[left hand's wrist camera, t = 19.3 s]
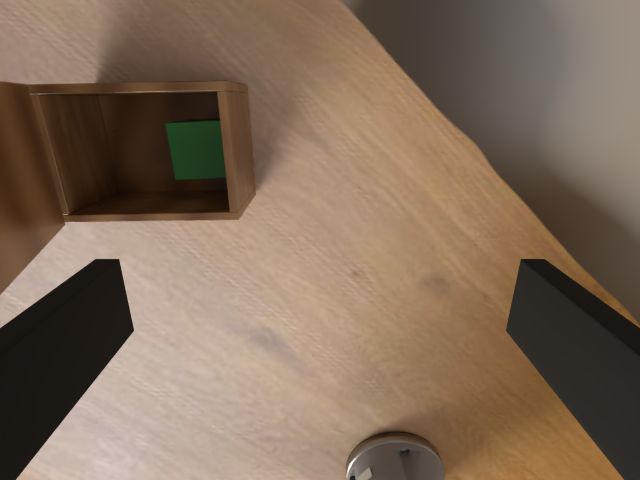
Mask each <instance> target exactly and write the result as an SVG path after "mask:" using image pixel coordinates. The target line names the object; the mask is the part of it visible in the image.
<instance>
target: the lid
mask: <svg viewBox="0 0 640 480" xmlns="http://www.w3.org/2000/svg"><path fill="white" fill-rule="evenodd" d="M64 225H65V220H64V217H63V213H62V209H61V206H60V202H59V198H58V195H57V191H56V187H55V184H54V180H53V176H52V172H51V169H50V165H49V161H48V158H47V154H46V150H45V147H44V143H43V139H42V136H41V132H40V128H39V124H38V121H37V117H36V113H35V110H34V106H33V102H32V99H31V95H30V91H29V87H28V85H27V84H19V83H11V82H2V81H0V295H1V293H2V292H3V291H4V290H5V289H6V288H7V287H8V286H9V285H10V284H11V283H12V282H13V280H14V279H15V278H16V277H17V276H18V275H19V274H20V273H21V272H22V271H23V270H24V269H25V268H26V266H27V265H28V264H29V263H30V262H31V261H32V260H33V259H34V258H35V257H36V256H37V255H38V253H39V252H40V251H41V250H42V249H43V248H44V247H45V246H46V245H47V244H48V243H49V242H50V240H51V239H52V238H53V237H54V236H55V235H56V234H57V233H58V232H59V231H60V230H61V229H62V228H63V226H64Z"/></svg>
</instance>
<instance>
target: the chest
mask: <svg viewBox="0 0 640 480" xmlns="http://www.w3.org/2000/svg"><path fill="white" fill-rule="evenodd" d="M28 87H29V91H30V95H31V99H32V102H33V106H34V110H35V113H36V117H37V121H38V124H39V128H40V132H41V136H42V139H43V143H44V147H45V150H46V154H47V158H48V161H49V165H50V169H51V172H52V176H53V180H54V184H55V187H56V191H57V195H58V198H59V202H60V206H61V209H62V213H63V217H64V220H65V223H82V222H140V221H198V220H239V218H240V217H241V216H242V214H243V213H244V211H245V210H246V208H247V207H248V205H249V204H250V202H251V201H252V199H253V198H254V196H255V195H256V189H255V176H254V164H253V151H252V139H251V126H250V114H249V101H248V89H247V85H244V84H239V83H234V82H228V81H186V82H136V83H86V84H37V85H28ZM215 118H220V124H221V133H222V143H223V152H224V161H225V171H226V178H215V179H194V180H175V175H174V170H173V164H172V159H171V153H170V148H169V142H168V137H167V132H166V126H165V123H169V122H175V121H182V120H195V119H215Z"/></svg>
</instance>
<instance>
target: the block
mask: <svg viewBox="0 0 640 480" xmlns="http://www.w3.org/2000/svg"><path fill="white" fill-rule="evenodd" d="M165 126H166V132H167V137H168V142H169V148H170V153H171V159H172V164H173V170H174V175H175V180H194V179H215V178H226V171H225V161H224V152H223V143H222V133H221V124H220V118H215V119H195V120H182V121H175V122H169V123H165Z"/></svg>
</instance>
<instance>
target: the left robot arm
mask: <svg viewBox="0 0 640 480" xmlns="http://www.w3.org/2000/svg"><path fill="white" fill-rule="evenodd" d="M133 331H134V328H133V323H132V319H131V314H130V309H129V304H128V300H127V295H126V290H125V285H124V280H123V276H122V271H121V266H120V261H119V259H95V260H94V261H92V262H91V263H90V264H88V265H87V266H85V267H84V268H83V269H81V270H80V271H79V272H77V273H76V274H74V275H73V276H72V277H70V278H69V279H67V280H66V281H65V282H63V283H62V284H61V285H59V286H58V287H56V288H55V289H54V290H52V291H51V292H50V293H48V294H47V295H45V296H44V297H43V298H41V299H40V300H39V301H37V302H36V303H34V304H33V305H32V306H30V307H29V308H28V309H26V310H25V311H23V312H22V313H21V314H19V315H18V316H16V317H15V318H14V319H12V320H11V321H10V322H8V323H7V324H5V325H4V326H3V327H1V328H0V480H16V479H17V477H18V476H19V475H20V474H21V472H22V471H23V470H24V469H25V467H26V466H27V465H28V464H29V462H30V461H31V460H32V459H33V457H34V456H35V455H36V454H37V452H38V451H39V450H40V448H41V447H42V446H43V445H44V443H45V442H46V441H47V440H48V438H49V437H50V436H51V435H52V433H53V432H54V431H55V430H56V428H57V427H58V426H59V425H60V423H61V422H62V421H63V420H64V418H65V417H66V416H67V414H68V413H69V412H70V411H71V409H72V408H73V407H74V406H75V404H76V403H77V402H78V401H79V399H80V398H81V397H82V396H83V394H84V393H85V392H86V391H87V389H88V388H89V387H90V385H91V384H92V383H93V382H94V380H95V379H96V378H97V377H98V375H99V374H100V373H101V372H102V370H103V369H104V368H105V367H106V365H107V364H108V363H109V362H110V360H111V359H112V358H113V357H114V355H115V354H116V353H117V351H118V350H119V349H120V348H121V346H122V345H123V344H124V343H125V341H126V340H127V339H128V338H129V336H130V335H131V334H132V333H133ZM506 331H507V333H508V334H509V335H510V336H511V338H512V339H513V340H514V341H515V343H516V344H517V345H518V346H519V348H520V349H521V350H522V351H523V353H524V354H525V355H526V357H527V358H528V359H529V360H530V362H531V363H532V364H533V365H534V367H535V368H536V369H537V370H538V372H539V373H540V374H541V375H542V377H543V378H544V379H545V380H546V382H547V383H548V384H549V385H550V387H551V388H552V389H553V391H554V392H555V393H556V394H557V396H558V397H559V398H560V399H561V401H562V402H563V403H564V404H565V406H566V407H567V408H568V409H569V411H570V412H571V413H572V414H573V416H574V417H575V418H576V420H577V421H578V422H579V423H580V425H581V426H582V427H583V428H584V430H585V431H586V432H587V433H588V435H589V436H590V437H591V438H592V440H593V441H594V442H595V443H596V445H597V446H598V447H599V448H600V450H601V451H602V452H603V454H604V455H605V456H606V457H607V459H608V460H609V461H610V462H611V464H612V465H613V466H614V467H615V469H616V470H617V471H618V472H619V474H620V475H621V476H622V477H623V479H624V480H640V328H639V327H637V326H636V325H635V324H633V323H632V322H630V321H629V320H628V319H626V318H625V317H624V316H622V315H621V314H619V313H618V312H617V311H615V310H614V309H612V308H611V307H610V306H608V305H607V304H606V303H604V302H603V301H601V300H600V299H599V298H597V297H596V296H595V295H593V294H592V293H590V292H589V291H588V290H586V289H585V288H584V287H582V286H581V285H579V284H578V283H577V282H575V281H574V280H573V279H571V278H570V277H568V276H567V275H566V274H564V273H563V272H561V271H560V270H559V269H557V268H556V267H555V266H553V265H552V264H550V263H549V262H548V261H546V260H545V259H521V261H520V266H519V271H518V276H517V280H516V285H515V290H514V295H513V299H512V304H511V309H510V314H509V319H508V323H507V328H506ZM346 476H347V480H444V468H443V465H442V462H441V459H440V456H439V453H438V452H437V450H436V449H435V447H434V446H433V445H432V444H431V443H429V442H428V441H427V440H425V439H423V438H421V437H419V436H416V435H413V434H409V433H400V432H393V433H385V434H380V435H377V436H374V437H371V438H369V439H367V440H365V441H364V442H362V443H361V444H359V445H358V446H357V447H356V448H355V449H354V450H353V451H352V453H351V454H350V456H349V458H348V460H347V464H346Z"/></svg>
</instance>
